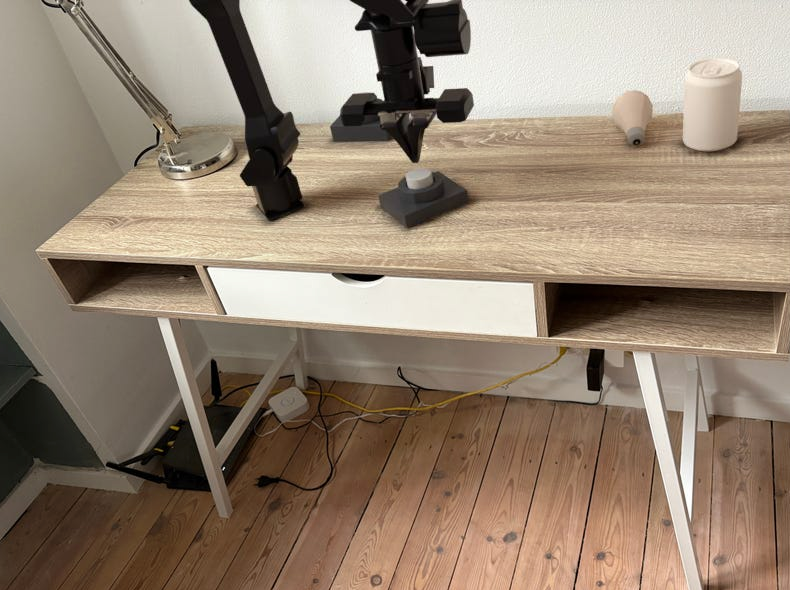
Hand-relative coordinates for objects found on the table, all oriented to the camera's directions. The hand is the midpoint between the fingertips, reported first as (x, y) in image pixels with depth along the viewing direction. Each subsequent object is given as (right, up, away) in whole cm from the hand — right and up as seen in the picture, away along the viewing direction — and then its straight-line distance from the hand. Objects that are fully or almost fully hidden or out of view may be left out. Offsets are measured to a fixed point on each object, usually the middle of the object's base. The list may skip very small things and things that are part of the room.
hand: (416, 161), depth 123 cm
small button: (+1, -3, +2) cm, 4 cm away
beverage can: (+46, +4, +6) cm, 47 cm away
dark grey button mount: (-10, +13, +30) cm, 34 cm away
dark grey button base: (+1, -6, +5) cm, 7 cm away
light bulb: (+35, +7, +12) cm, 38 cm away
